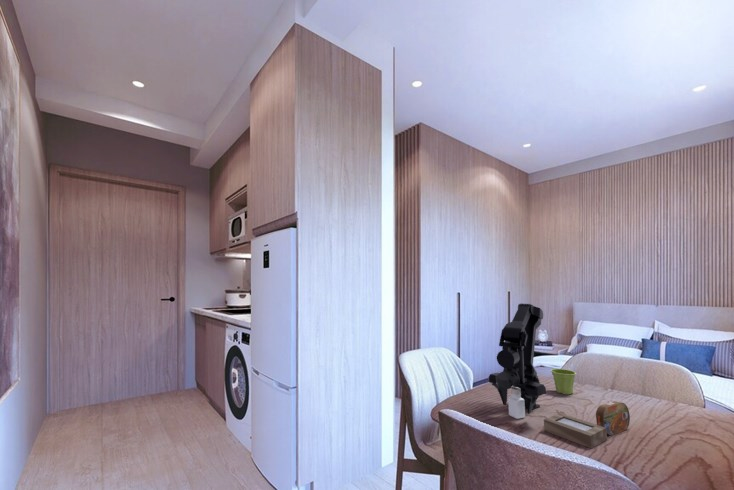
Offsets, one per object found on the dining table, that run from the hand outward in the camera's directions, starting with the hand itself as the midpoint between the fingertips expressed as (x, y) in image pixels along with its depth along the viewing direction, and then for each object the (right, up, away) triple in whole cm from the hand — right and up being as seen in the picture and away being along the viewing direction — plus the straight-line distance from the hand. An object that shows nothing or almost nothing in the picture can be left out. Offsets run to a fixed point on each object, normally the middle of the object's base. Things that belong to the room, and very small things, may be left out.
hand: (516, 409), depth 117 cm
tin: (+26, -2, -11) cm, 28 cm away
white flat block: (+12, +1, -14) cm, 18 cm away
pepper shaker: (0, -3, 0) cm, 3 cm away
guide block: (+12, -1, -14) cm, 18 cm away
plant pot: (+32, -6, +27) cm, 42 cm away
